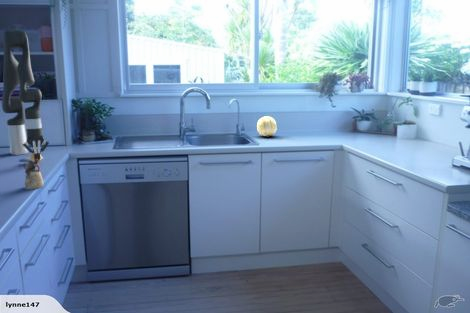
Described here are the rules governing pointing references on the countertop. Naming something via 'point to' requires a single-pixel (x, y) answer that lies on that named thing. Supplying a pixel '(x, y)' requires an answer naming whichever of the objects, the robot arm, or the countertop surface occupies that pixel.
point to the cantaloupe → (266, 126)
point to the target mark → (27, 159)
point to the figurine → (33, 175)
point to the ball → (33, 157)
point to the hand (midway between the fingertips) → (37, 160)
